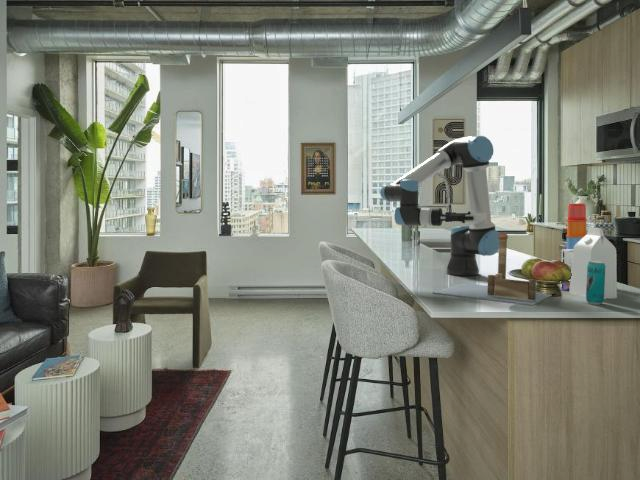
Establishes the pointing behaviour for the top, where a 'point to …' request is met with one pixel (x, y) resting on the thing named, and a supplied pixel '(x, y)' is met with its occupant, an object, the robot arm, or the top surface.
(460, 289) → the card
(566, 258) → the candy box
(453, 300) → the top surface
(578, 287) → the milk
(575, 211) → the stacking cups
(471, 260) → the robot arm
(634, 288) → the top surface
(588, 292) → the beverage can
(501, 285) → the fence fixed
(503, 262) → the folding fence panel
